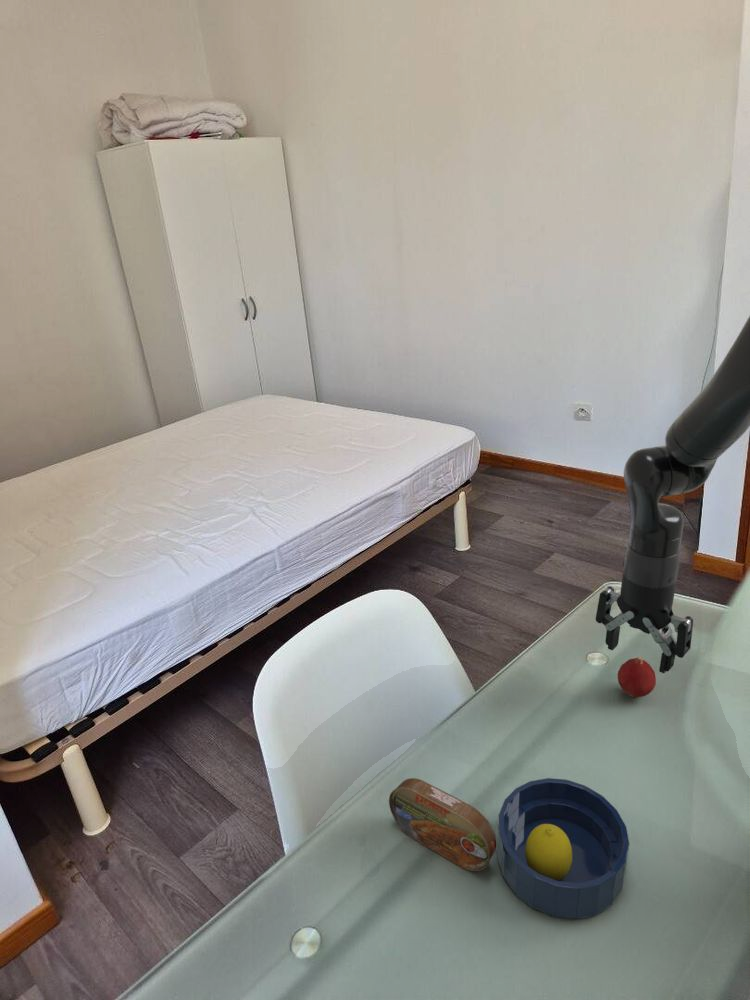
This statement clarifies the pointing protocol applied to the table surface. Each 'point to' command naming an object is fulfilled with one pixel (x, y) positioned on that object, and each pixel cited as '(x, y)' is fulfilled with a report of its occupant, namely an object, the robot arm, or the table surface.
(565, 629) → the table surface
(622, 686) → the onion
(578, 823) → the bowl
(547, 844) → the lemon
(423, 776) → the table surface
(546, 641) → the table surface
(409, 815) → the tin
